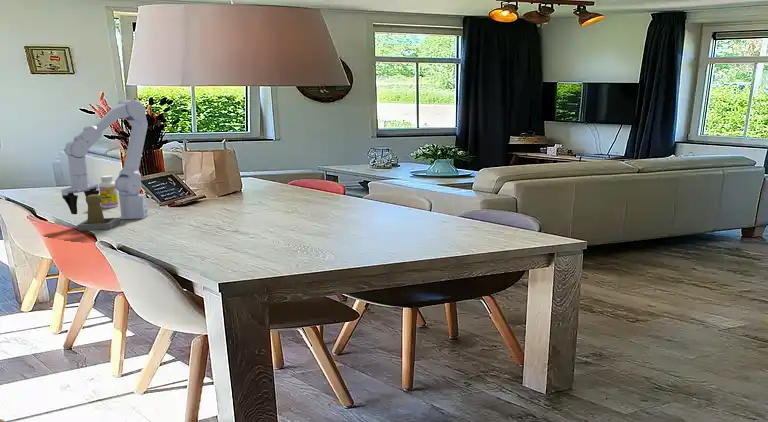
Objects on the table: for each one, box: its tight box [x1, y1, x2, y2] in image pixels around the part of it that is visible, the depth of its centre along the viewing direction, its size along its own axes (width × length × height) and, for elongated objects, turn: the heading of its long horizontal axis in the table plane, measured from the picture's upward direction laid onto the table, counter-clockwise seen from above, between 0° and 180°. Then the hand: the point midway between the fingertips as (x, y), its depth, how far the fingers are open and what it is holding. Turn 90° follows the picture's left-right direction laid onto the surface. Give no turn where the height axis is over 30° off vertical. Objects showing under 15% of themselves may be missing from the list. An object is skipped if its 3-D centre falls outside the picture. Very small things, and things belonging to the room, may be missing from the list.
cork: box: [85, 194, 105, 224], centre depth 245 cm, size 6×6×11 cm
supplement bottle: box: [98, 175, 119, 209], centre depth 285 cm, size 7×7×13 cm
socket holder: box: [77, 217, 121, 232], centre depth 245 cm, size 11×11×2 cm
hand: (83, 212), depth 248 cm, fingers open, 7 cm apart
